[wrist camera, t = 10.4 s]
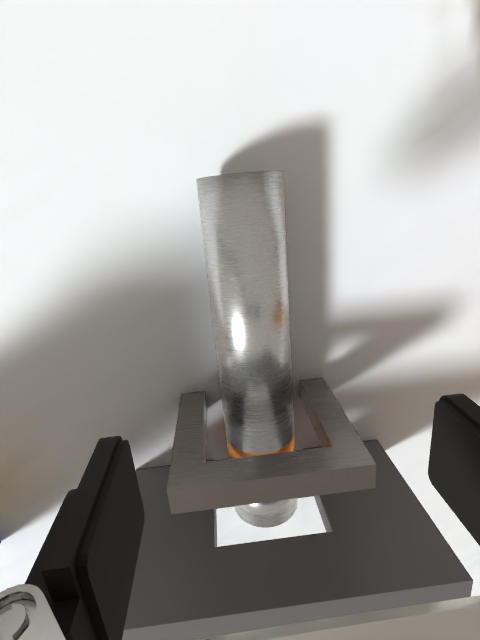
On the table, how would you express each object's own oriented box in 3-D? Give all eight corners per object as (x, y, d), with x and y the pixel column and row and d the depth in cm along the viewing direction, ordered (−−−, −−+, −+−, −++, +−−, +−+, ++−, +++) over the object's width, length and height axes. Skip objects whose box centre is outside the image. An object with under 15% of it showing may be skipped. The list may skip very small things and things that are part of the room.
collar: (181, 393, 28) (166, 490, 19) (322, 377, 29) (376, 464, 19) (183, 411, 29) (171, 514, 19) (323, 395, 29) (375, 488, 20)
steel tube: (195, 181, 23) (197, 177, 19) (272, 174, 24) (293, 168, 19) (230, 482, 31) (238, 532, 26) (288, 472, 32) (305, 520, 27)
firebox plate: (135, 469, 30) (91, 634, 19) (377, 439, 31) (473, 580, 20) (139, 484, 31) (97, 654, 19) (376, 455, 32) (469, 600, 20)
